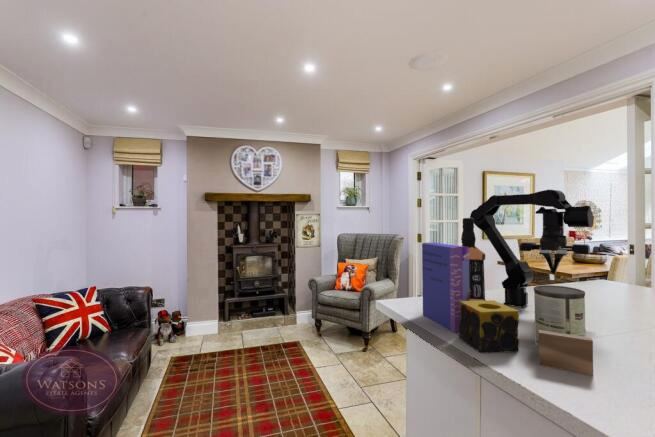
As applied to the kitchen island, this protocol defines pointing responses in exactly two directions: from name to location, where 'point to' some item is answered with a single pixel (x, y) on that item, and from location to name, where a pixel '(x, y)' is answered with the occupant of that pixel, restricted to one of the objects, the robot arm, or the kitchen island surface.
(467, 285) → the cereal box
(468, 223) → the whiskey bottle
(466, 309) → the yellow cube with hole
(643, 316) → the kitchen island surface
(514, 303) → the robot arm
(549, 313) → the coffee can
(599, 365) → the kitchen island surface
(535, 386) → the kitchen island surface
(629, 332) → the kitchen island surface
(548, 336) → the wooden block
